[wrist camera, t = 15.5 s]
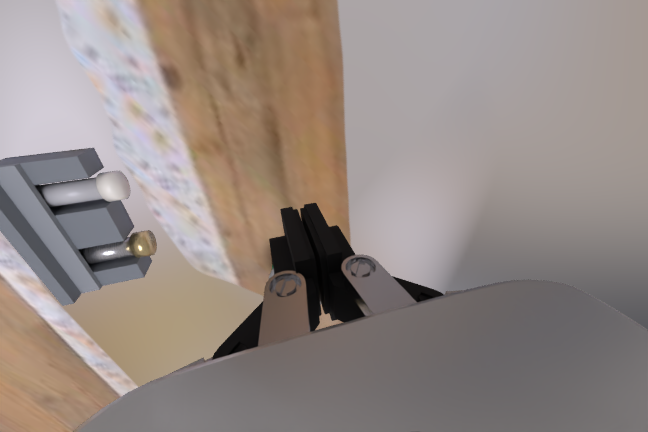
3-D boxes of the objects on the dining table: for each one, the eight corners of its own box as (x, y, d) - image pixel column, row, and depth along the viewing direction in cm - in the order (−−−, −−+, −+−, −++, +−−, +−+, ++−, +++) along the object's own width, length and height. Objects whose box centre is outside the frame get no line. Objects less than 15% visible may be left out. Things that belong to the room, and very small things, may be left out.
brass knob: (77, 238, 40) (62, 253, 37) (149, 225, 42) (141, 239, 39) (90, 258, 42) (77, 274, 39) (158, 245, 44) (151, 260, 41)
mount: (6, 157, 34) (-45, 176, 28) (93, 147, 36) (63, 163, 30) (87, 273, 44) (62, 305, 38) (151, 261, 46) (138, 289, 40)
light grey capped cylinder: (37, 178, 35) (15, 189, 32) (121, 167, 37) (109, 176, 34) (54, 204, 37) (36, 217, 34) (133, 192, 39) (122, 203, 36)
